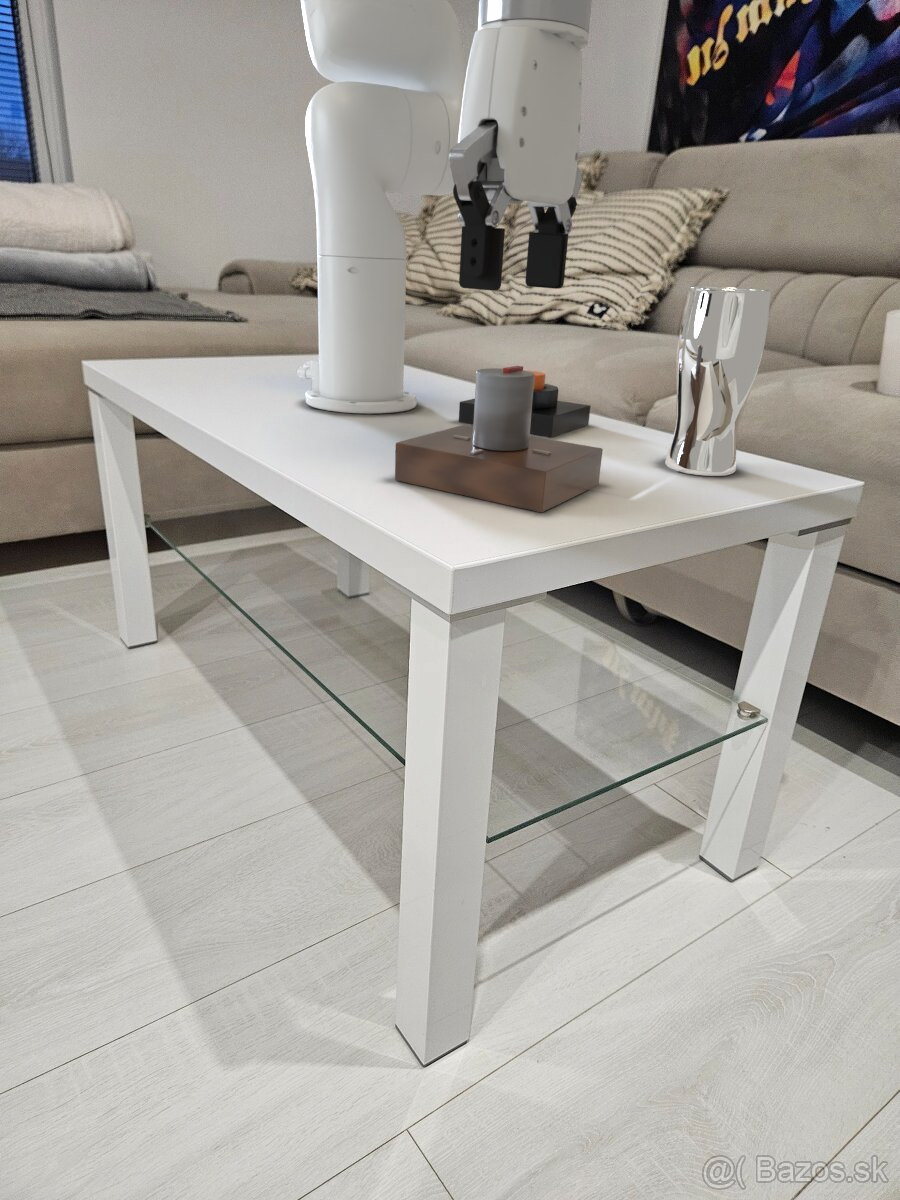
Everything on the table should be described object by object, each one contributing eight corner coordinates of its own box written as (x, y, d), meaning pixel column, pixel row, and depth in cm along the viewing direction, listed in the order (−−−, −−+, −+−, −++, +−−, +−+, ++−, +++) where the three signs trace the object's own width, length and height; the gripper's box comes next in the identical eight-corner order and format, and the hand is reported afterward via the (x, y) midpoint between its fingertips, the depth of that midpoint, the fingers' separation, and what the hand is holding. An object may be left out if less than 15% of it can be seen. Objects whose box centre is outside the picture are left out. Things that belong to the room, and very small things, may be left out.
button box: (458, 422, 88) (460, 384, 86) (500, 411, 95) (502, 376, 93) (551, 438, 82) (555, 397, 81) (588, 425, 89) (592, 388, 88)
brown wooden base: (394, 480, 65) (395, 440, 64) (462, 458, 73) (464, 422, 71) (541, 513, 58) (546, 469, 57) (598, 485, 66) (603, 446, 65)
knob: (510, 454, 62) (516, 374, 59) (461, 444, 64) (465, 367, 61) (538, 444, 65) (545, 369, 63) (491, 436, 67) (496, 362, 65)
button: (503, 389, 86) (504, 372, 86) (519, 386, 89) (521, 369, 89) (534, 393, 85) (535, 376, 84) (549, 390, 87) (551, 373, 87)
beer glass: (655, 456, 77) (680, 284, 71) (731, 461, 76) (763, 288, 70) (665, 474, 71) (693, 287, 65) (748, 480, 70) (784, 292, 64)
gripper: (544, 48, 64) (525, 283, 71) (413, -11, 51) (405, 286, 58) (635, 41, 60) (606, 290, 67) (519, -25, 47) (497, 294, 54)
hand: (513, 288), depth 62 cm, fingers open, 9 cm apart
